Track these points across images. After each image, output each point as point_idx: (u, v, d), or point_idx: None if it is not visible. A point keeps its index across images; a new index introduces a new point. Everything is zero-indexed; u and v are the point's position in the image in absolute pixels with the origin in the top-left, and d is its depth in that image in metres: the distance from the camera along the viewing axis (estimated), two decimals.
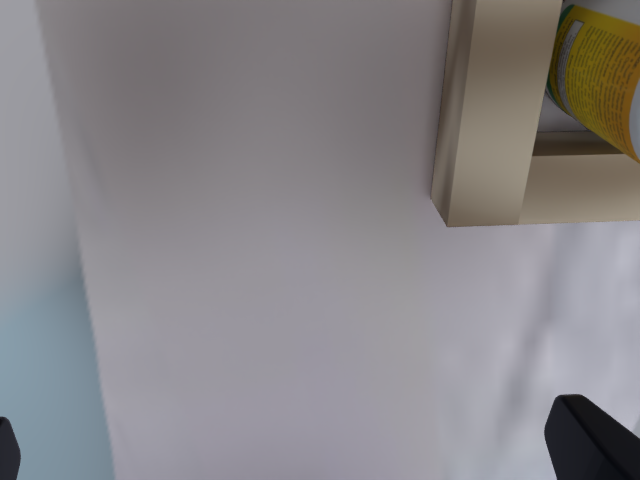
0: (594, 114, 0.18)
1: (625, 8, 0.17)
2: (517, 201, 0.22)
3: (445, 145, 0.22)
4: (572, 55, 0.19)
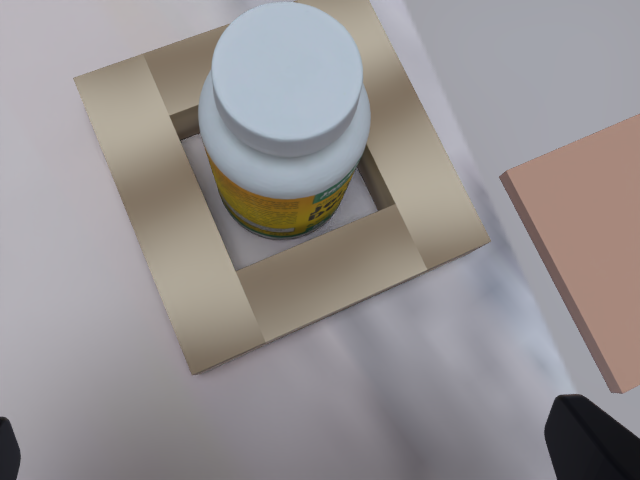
0: (232, 196, 0.20)
1: None
2: (249, 318, 0.21)
3: None
4: None
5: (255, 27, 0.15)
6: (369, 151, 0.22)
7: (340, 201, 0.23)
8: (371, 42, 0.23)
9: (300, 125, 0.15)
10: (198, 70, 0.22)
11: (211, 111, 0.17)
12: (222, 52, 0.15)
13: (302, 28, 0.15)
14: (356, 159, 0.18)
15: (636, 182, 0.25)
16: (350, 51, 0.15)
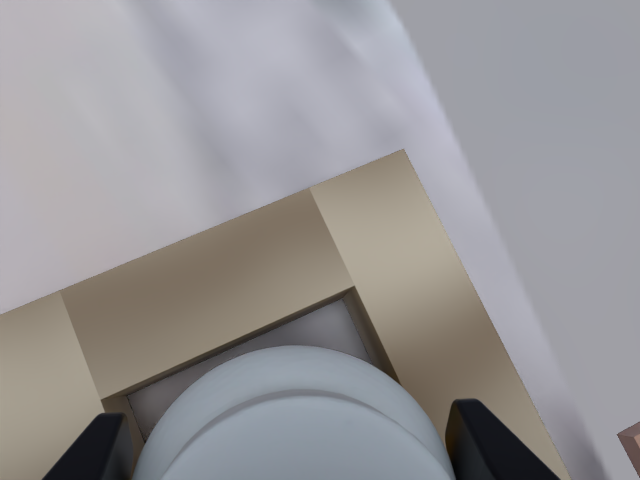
0: None
1: None
2: None
3: None
4: None
5: (229, 474, 0.07)
6: None
7: None
8: (427, 255, 0.15)
9: None
10: (149, 316, 0.14)
11: None
12: None
13: (339, 470, 0.07)
14: None
15: None
16: None
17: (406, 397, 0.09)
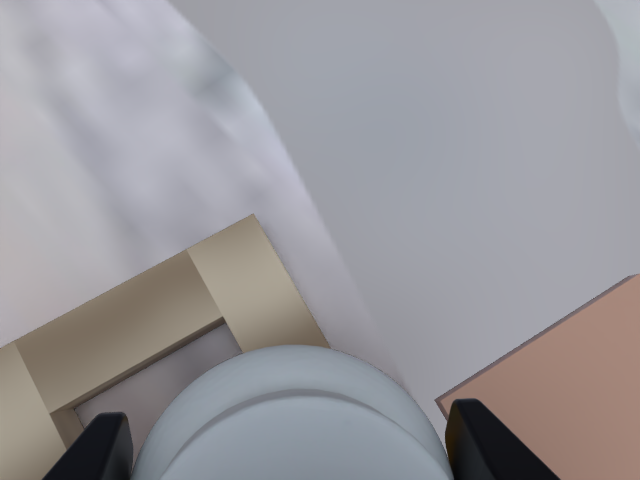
0: None
1: None
2: None
3: None
4: None
5: (229, 474, 0.07)
6: None
7: None
8: (273, 289, 0.21)
9: None
10: (78, 352, 0.20)
11: None
12: None
13: (338, 470, 0.07)
14: None
15: (584, 393, 0.23)
16: None
17: (404, 396, 0.09)
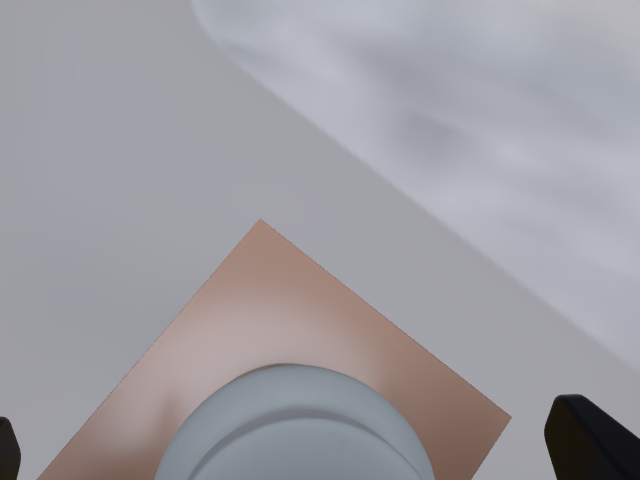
0: None
1: None
2: None
3: None
4: None
5: None
6: None
7: None
8: None
9: None
10: None
11: None
12: None
13: None
14: None
15: None
16: None
17: (394, 413, 0.11)
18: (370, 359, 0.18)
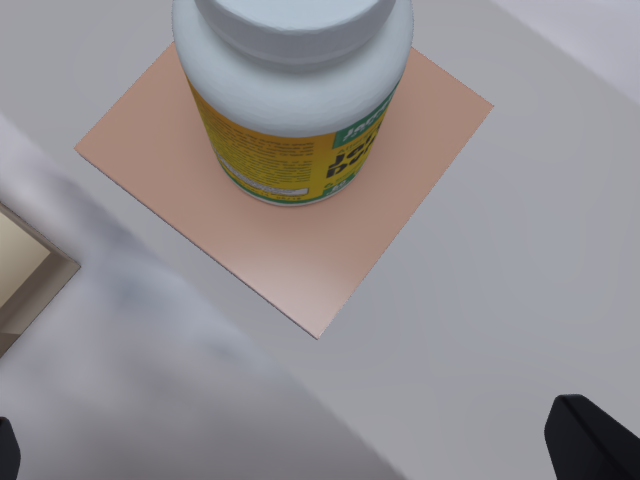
0: (224, 142, 0.15)
1: None
2: None
3: None
4: None
5: None
6: None
7: (367, 156, 0.18)
8: None
9: (314, 8, 0.10)
10: None
11: (187, 11, 0.12)
12: None
13: None
14: (394, 80, 0.12)
15: None
16: None
17: None
18: None
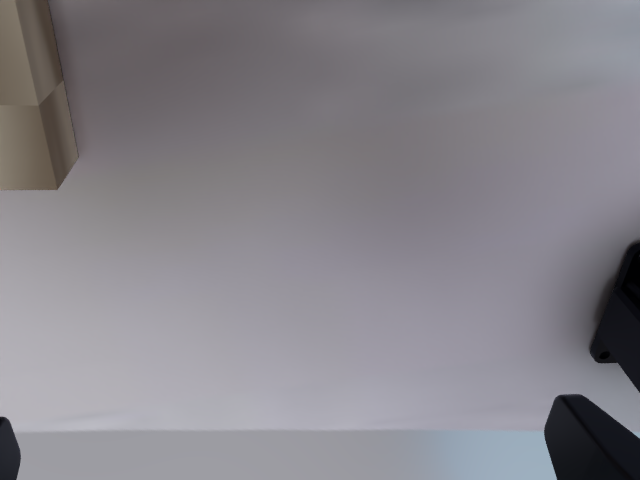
0: None
1: None
2: (5, 112, 0.17)
3: None
4: None
5: None
6: None
7: None
8: None
9: None
10: None
11: None
12: None
13: None
14: None
15: None
16: None
17: None
18: None
